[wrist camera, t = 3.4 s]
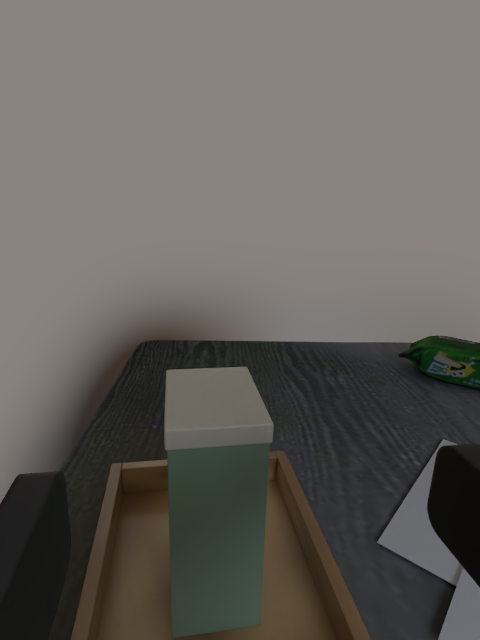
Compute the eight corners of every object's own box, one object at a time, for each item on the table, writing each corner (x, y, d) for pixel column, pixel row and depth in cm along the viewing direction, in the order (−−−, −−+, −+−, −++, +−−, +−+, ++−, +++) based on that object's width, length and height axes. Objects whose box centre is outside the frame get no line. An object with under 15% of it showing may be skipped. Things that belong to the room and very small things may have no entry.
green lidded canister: (241, 529, 27) (247, 366, 24) (262, 627, 21) (274, 423, 18) (170, 536, 26) (166, 369, 23) (169, 641, 20) (164, 430, 17)
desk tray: (282, 476, 33) (284, 450, 33) (394, 749, 17) (402, 707, 16) (113, 490, 31) (111, 463, 30) (45, 823, 14) (37, 777, 14)
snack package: (406, 359, 61) (411, 326, 59) (532, 386, 52) (541, 348, 51) (394, 374, 55) (399, 339, 53) (533, 407, 46) (543, 365, 45)
